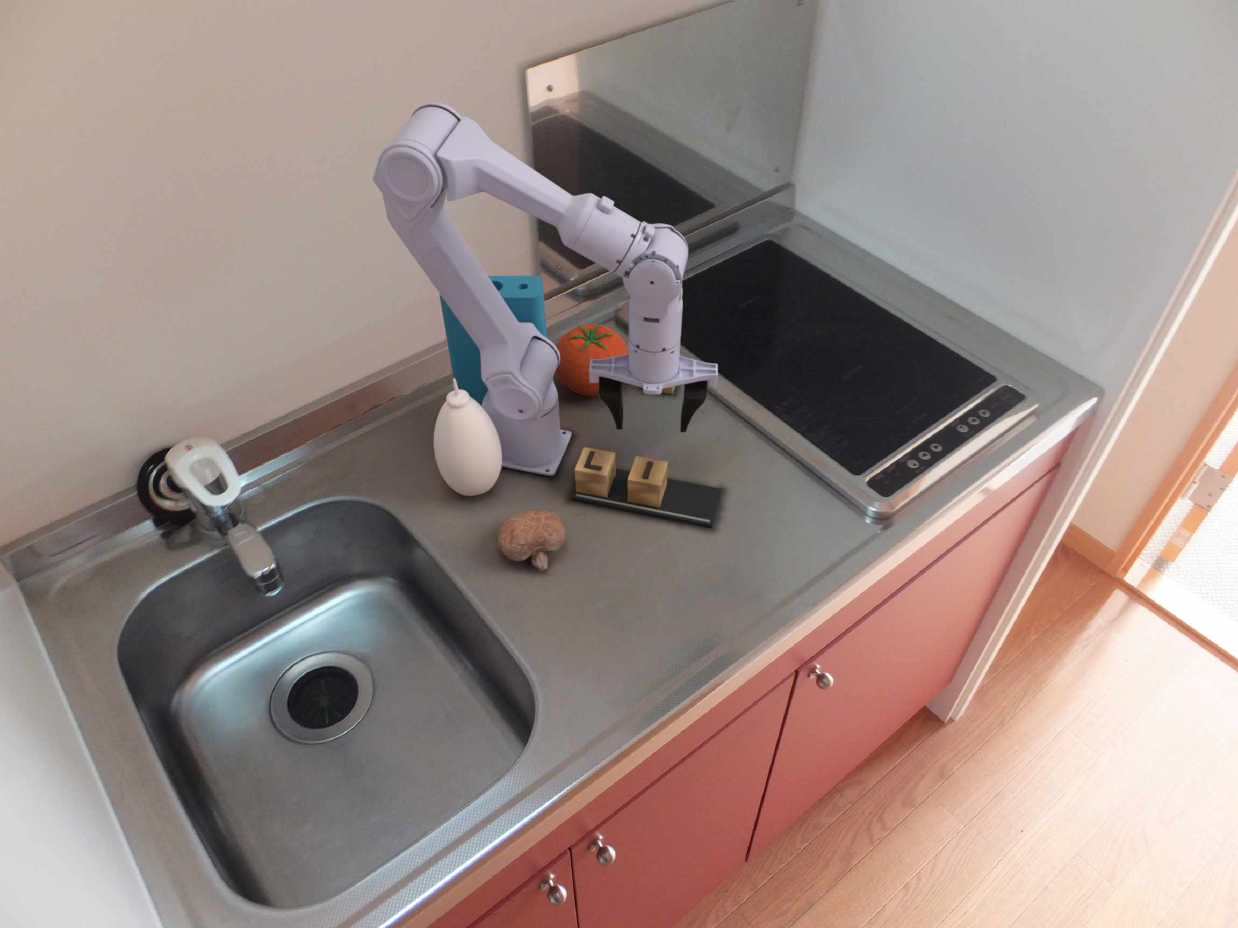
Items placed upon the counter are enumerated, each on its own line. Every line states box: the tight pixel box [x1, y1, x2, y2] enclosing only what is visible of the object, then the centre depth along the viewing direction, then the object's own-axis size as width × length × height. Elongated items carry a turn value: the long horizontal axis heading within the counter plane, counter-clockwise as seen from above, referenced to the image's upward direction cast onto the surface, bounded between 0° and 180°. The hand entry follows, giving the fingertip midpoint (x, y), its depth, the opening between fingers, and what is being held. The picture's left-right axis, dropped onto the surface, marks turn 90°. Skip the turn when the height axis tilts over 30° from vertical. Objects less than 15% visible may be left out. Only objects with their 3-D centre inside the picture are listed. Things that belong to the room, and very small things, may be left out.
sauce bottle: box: [433, 378, 502, 497], centre depth 102 cm, size 8×8×18 cm
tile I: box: [628, 455, 669, 507], centre depth 105 cm, size 4×4×4 cm
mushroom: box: [497, 509, 567, 572], centre depth 100 cm, size 8×6×8 cm
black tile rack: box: [571, 468, 722, 529], centre depth 107 cm, size 17×6×1 cm, turn 75°
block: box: [438, 275, 548, 406], centre depth 111 cm, size 12×5×20 cm, turn 89°
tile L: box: [574, 446, 617, 498], centre depth 107 cm, size 4×4×4 cm
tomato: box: [555, 322, 629, 397], centre depth 118 cm, size 10×10×10 cm
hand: (651, 425), depth 106 cm, fingers open, 7 cm apart
